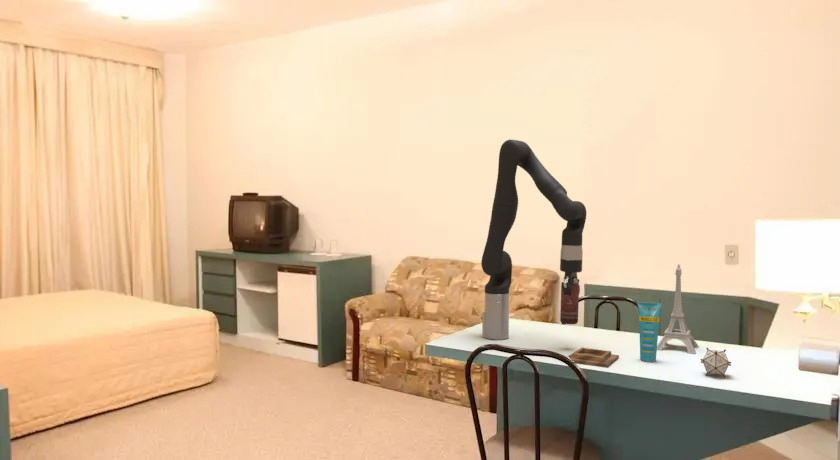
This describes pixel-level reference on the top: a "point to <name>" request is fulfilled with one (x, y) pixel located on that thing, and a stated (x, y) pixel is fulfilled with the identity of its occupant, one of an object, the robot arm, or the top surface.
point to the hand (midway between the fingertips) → (569, 306)
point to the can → (570, 305)
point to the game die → (715, 362)
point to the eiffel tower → (678, 315)
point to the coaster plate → (593, 357)
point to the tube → (648, 329)
